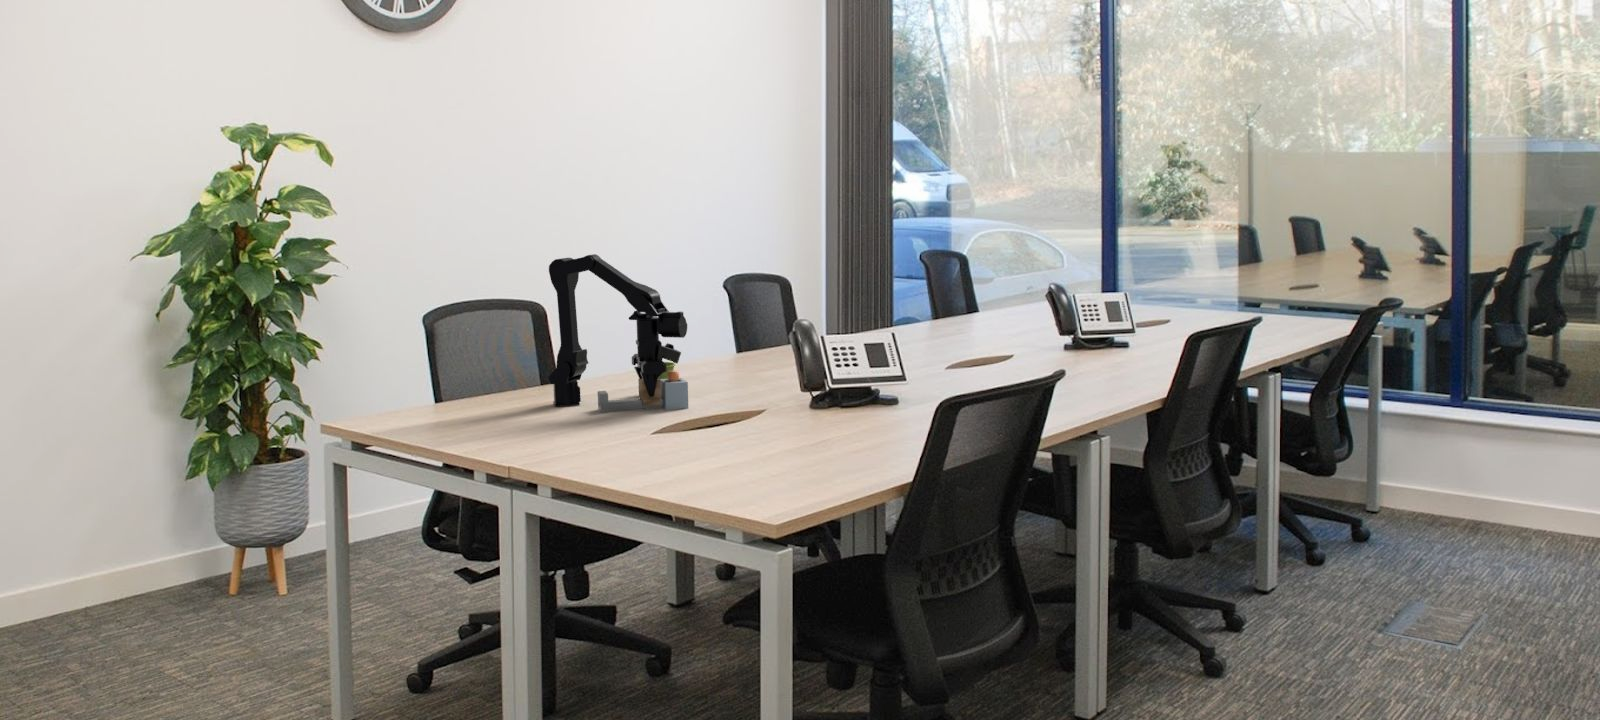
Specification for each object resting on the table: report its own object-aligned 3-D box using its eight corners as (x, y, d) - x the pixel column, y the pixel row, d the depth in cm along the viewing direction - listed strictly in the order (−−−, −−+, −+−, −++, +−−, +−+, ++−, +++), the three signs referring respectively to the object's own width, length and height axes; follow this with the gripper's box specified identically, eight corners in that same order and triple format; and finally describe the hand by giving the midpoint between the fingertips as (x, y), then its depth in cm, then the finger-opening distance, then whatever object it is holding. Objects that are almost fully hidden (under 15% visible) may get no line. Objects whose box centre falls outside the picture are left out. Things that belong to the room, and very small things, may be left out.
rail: (601, 412, 359) (600, 394, 359) (598, 409, 364) (597, 391, 363) (668, 408, 364) (668, 389, 364) (665, 405, 369) (664, 387, 368)
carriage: (642, 405, 362) (641, 381, 361) (639, 402, 367) (638, 378, 366) (661, 404, 364) (660, 380, 363) (657, 401, 368) (656, 377, 368)
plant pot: (674, 397, 383) (673, 366, 381) (640, 397, 383) (639, 366, 382) (678, 391, 392) (677, 361, 391) (645, 392, 392) (644, 362, 391)
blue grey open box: (666, 409, 363) (665, 383, 362) (660, 404, 370) (659, 379, 369) (688, 408, 364) (687, 382, 363) (682, 403, 372) (681, 377, 371)
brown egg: (669, 385, 365) (668, 372, 364) (667, 384, 368) (666, 370, 367) (680, 385, 366) (679, 371, 365) (678, 383, 368) (677, 370, 368)
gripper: (685, 339, 356) (686, 398, 358) (671, 331, 374) (672, 388, 376) (642, 341, 353) (644, 401, 355) (630, 333, 371) (632, 390, 373)
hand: (649, 395), depth 365 cm, fingers closed on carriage, 5 cm apart
